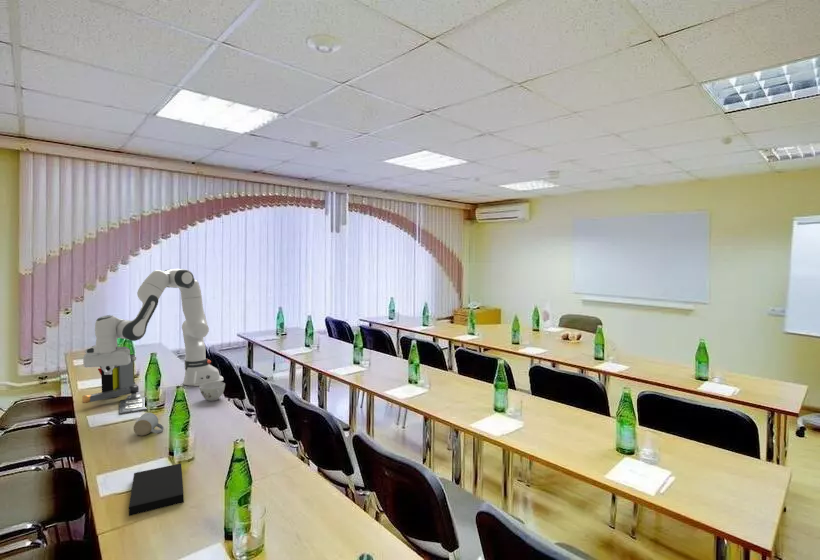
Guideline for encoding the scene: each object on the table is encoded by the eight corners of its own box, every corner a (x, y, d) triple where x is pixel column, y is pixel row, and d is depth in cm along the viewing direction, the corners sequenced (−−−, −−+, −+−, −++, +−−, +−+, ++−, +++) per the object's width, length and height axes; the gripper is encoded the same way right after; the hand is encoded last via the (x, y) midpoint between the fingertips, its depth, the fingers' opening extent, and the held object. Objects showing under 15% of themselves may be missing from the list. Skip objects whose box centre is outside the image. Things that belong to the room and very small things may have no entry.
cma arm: (136, 390, 234) (136, 384, 234) (139, 391, 232) (139, 386, 232) (81, 401, 215) (81, 395, 215) (83, 403, 212) (83, 397, 212)
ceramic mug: (132, 437, 180) (132, 419, 179) (139, 429, 188) (139, 412, 187) (160, 435, 182) (160, 418, 182) (166, 428, 190) (166, 411, 190)
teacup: (196, 399, 229) (196, 384, 229) (220, 394, 238) (220, 380, 238) (206, 406, 219) (205, 390, 218) (230, 400, 227) (230, 385, 227)
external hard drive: (129, 517, 125) (128, 507, 125) (134, 481, 145) (133, 472, 145) (183, 503, 132) (183, 494, 132) (181, 471, 152) (181, 463, 152)
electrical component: (117, 398, 231) (116, 361, 230) (98, 397, 231) (97, 361, 230) (138, 388, 248) (137, 354, 247) (121, 388, 248) (120, 354, 247)
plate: (147, 397, 231) (147, 395, 231) (148, 409, 213) (148, 407, 212) (120, 401, 224) (120, 399, 224) (119, 414, 206) (119, 412, 206)
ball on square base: (140, 395, 236) (140, 390, 235) (140, 398, 231) (140, 393, 230) (127, 396, 232) (127, 392, 232) (127, 400, 227) (127, 395, 227)
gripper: (132, 345, 221) (133, 371, 222) (87, 347, 216) (88, 374, 217) (127, 347, 215) (128, 374, 216) (80, 350, 210) (82, 377, 211)
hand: (108, 374), depth 217 cm, fingers closed
